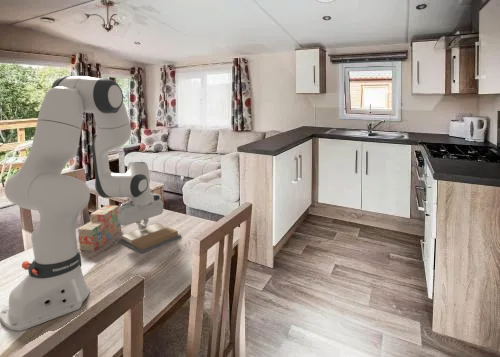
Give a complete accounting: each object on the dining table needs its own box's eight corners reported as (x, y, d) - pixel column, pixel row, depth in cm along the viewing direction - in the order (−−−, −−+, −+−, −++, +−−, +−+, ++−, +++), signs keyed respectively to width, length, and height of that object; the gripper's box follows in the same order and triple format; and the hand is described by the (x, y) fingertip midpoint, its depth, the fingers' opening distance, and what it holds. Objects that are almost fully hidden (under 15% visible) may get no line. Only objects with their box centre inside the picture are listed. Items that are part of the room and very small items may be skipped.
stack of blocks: (94, 251, 131) (91, 222, 128) (80, 250, 131) (76, 221, 128) (121, 230, 151) (119, 205, 148) (108, 229, 152) (106, 204, 149)
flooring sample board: (141, 253, 128) (141, 246, 128) (118, 242, 138) (117, 235, 138) (181, 237, 144) (180, 230, 143) (157, 228, 154) (156, 222, 153)
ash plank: (131, 244, 134) (131, 240, 133) (122, 239, 138) (121, 235, 137) (167, 230, 148) (167, 227, 147) (157, 226, 152) (157, 222, 151)
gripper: (122, 206, 130) (125, 238, 133) (164, 194, 145) (166, 224, 148) (113, 203, 133) (116, 234, 136) (155, 192, 149) (157, 220, 152)
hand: (142, 229), depth 143 cm, fingers closed
